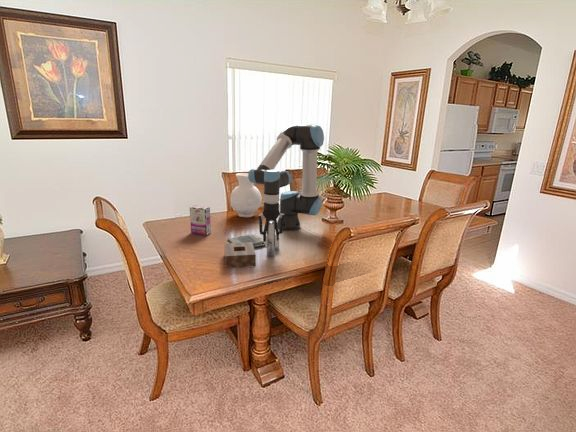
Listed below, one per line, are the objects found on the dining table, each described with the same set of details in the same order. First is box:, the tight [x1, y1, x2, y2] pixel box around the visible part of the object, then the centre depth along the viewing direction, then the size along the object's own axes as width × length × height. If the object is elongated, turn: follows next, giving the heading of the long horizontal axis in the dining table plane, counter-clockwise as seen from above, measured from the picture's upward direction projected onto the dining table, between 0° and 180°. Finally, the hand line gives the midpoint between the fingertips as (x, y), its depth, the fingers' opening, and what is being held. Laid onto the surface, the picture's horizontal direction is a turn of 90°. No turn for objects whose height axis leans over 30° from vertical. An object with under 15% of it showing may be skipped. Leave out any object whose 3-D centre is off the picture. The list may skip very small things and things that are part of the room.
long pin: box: [266, 220, 276, 258], centre depth 168 cm, size 4×4×18 cm
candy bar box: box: [189, 205, 212, 237], centre depth 197 cm, size 11×5×16 cm, turn 70°
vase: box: [230, 172, 263, 218], centre depth 232 cm, size 19×21×30 cm
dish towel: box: [227, 233, 265, 250], centre depth 186 cm, size 19×18×3 cm
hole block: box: [224, 242, 257, 269], centre depth 164 cm, size 14×16×6 cm
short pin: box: [275, 239, 280, 251], centre depth 179 cm, size 4×4×6 cm
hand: (270, 246), depth 169 cm, fingers closed on long pin, 4 cm apart
